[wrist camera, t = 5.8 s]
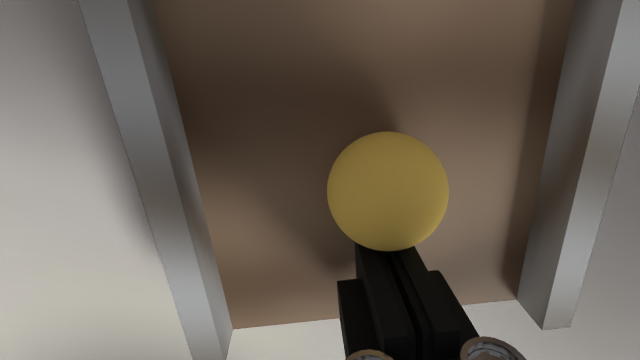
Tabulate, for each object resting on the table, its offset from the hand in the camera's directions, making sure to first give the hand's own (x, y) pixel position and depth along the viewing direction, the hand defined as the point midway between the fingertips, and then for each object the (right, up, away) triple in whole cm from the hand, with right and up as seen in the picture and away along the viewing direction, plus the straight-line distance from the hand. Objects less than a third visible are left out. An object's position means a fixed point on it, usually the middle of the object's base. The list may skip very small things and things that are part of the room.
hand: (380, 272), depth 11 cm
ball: (0, +3, -2) cm, 3 cm away
